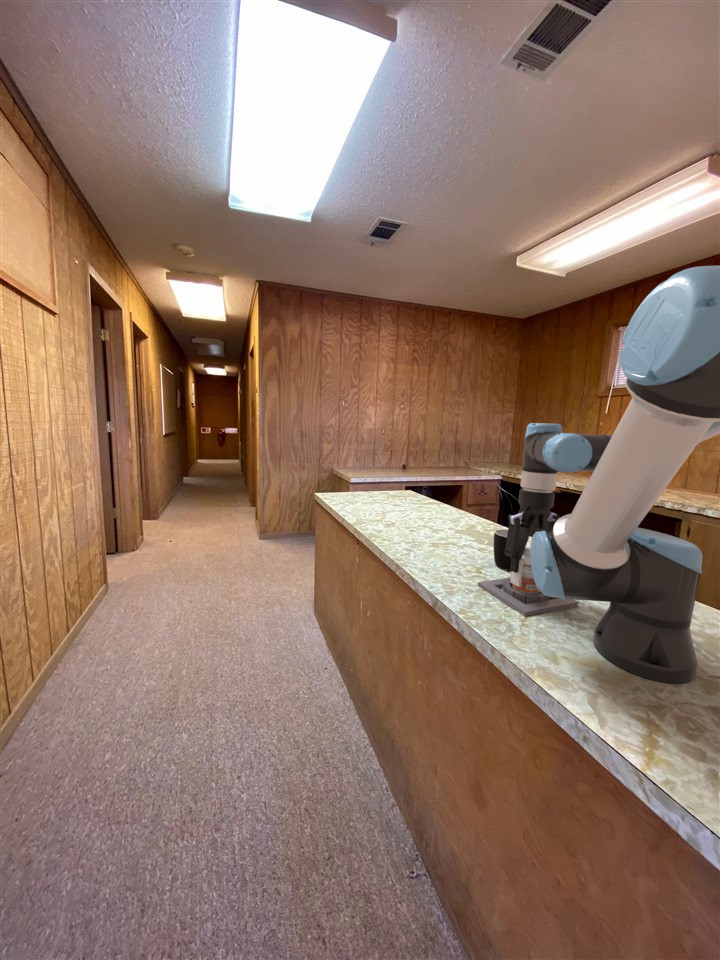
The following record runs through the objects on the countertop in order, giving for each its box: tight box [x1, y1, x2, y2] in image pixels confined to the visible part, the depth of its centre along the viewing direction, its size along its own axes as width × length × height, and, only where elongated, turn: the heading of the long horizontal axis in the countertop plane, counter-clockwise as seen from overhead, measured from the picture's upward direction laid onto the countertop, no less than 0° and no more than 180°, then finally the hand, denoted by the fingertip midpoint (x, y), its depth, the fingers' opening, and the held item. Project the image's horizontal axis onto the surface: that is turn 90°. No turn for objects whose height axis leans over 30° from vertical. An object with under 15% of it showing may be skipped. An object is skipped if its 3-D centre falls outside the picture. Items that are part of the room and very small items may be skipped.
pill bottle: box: [513, 543, 539, 594], centre depth 92 cm, size 6×6×11 cm
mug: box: [493, 528, 517, 571], centre depth 112 cm, size 12×9×10 cm
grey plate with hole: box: [477, 576, 579, 617], centre depth 93 cm, size 16×16×2 cm
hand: (526, 582), depth 92 cm, fingers closed on pill bottle, 6 cm apart
